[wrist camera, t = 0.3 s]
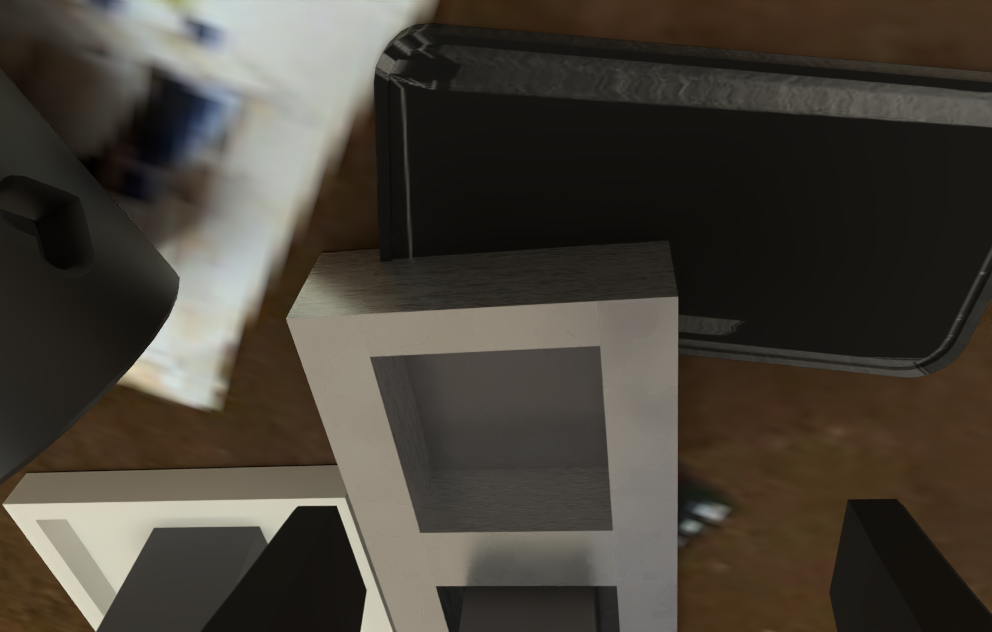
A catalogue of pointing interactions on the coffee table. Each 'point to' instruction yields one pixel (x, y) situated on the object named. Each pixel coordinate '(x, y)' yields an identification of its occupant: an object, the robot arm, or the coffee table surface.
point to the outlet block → (504, 422)
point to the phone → (707, 183)
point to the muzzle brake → (64, 286)
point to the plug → (182, 578)
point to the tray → (169, 520)
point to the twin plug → (530, 609)
